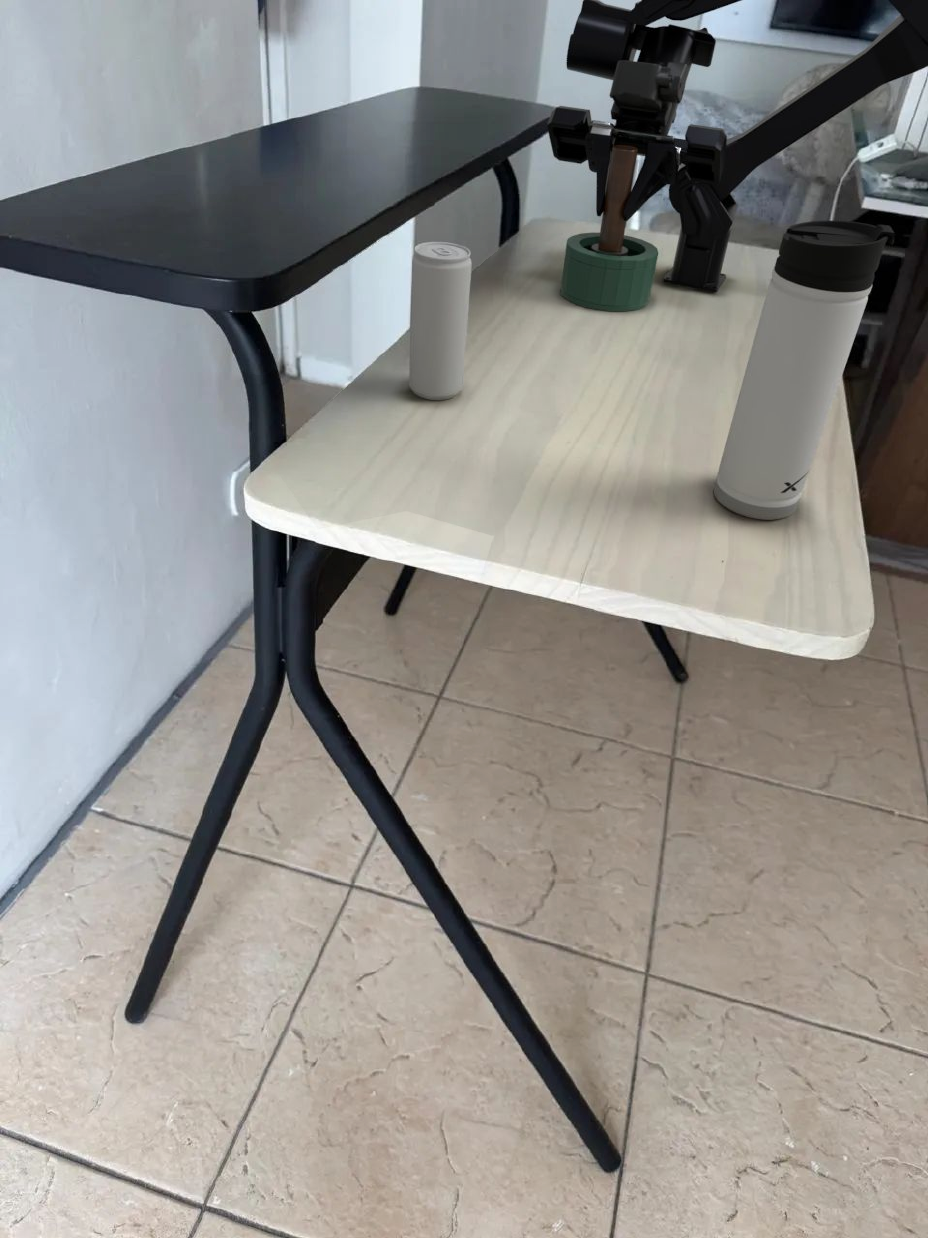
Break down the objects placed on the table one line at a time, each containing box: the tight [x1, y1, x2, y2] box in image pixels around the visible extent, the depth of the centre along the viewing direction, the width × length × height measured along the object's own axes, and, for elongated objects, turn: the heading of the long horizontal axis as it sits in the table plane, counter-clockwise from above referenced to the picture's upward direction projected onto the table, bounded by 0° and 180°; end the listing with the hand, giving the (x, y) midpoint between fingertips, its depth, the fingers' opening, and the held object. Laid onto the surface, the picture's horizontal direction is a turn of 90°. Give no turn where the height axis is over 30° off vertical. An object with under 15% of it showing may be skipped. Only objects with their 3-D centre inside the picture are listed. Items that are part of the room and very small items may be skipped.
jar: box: [560, 232, 659, 312], centre depth 103 cm, size 10×10×6 cm
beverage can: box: [408, 241, 473, 401], centre depth 78 cm, size 5×5×12 cm
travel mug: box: [712, 220, 896, 521], centre depth 64 cm, size 6×7×20 cm
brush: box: [591, 145, 638, 256], centre depth 99 cm, size 4×4×13 cm
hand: (611, 216), depth 97 cm, fingers closed on brush, 2 cm apart
